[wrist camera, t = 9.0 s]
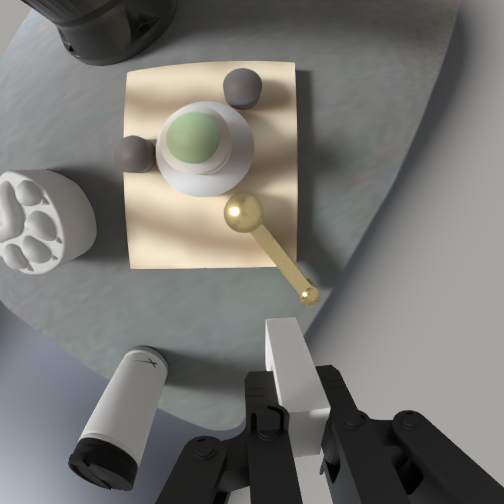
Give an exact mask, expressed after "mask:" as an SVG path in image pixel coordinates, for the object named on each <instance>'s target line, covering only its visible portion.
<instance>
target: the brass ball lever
mask: <svg viewBox="0 0 504 504" xmlns="http://www.w3.org/2000/svg"><path fill="white" fill-rule="evenodd" d="M263 218H264V209H263V205H262V203H261V202H260V200H259V199H258V198H257V197H255V196H254V195H253V194H251V193H248V192H239V193H236V194H234V195H233V196H231V197H230V198H229V200H228V201H227V203H226V205H225V208H224V219H225V222H226V223H227V225H228V226H229V227H230V228H231V229H232V230H234V231H236V232H239V233H249V232H250V234H251V235H252V236H253V237H254V239H255V240H256V241H257V242H258V243H259V245H260V246H261V247H262V248H263V250H264V251H265V252H266V253H267V255H268V256H269V257H270V258H271V260H272V261H273V262H274V263H275V264H276V266H277V267H278V268H279V269H280V271H281V272H282V273H283V274H284V276H285V277H286V278H287V279H288V281H289V282H290V283H291V284H292V286H293V287H294V288H295V289H296V291H297V293H298V295H299V297H300V299H301V301H302V303H303V304H304V305H306V306H313V305H315V304H317V303H318V302H319V300H320V292H319V290H318V289H317V288H316V286H315V285H314V283H313V282H312V281H311V280H310V279H307V278H306V277H305V276H304V275H303V274H302V272H301V271H300V270H299V268H298V267H297V266H296V264H295V263H294V262H293V261H292V259H291V258H290V257H289V256H288V254H287V253H286V252H285V250H284V249H283V248H282V247H281V245H280V244H279V243H278V242H277V240H276V239H275V238H274V236H273V235H272V234H271V233H270V231H269V230H268V229H267V228H266V226H265V225H264V224H263V223H262V221H263Z"/></svg>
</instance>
